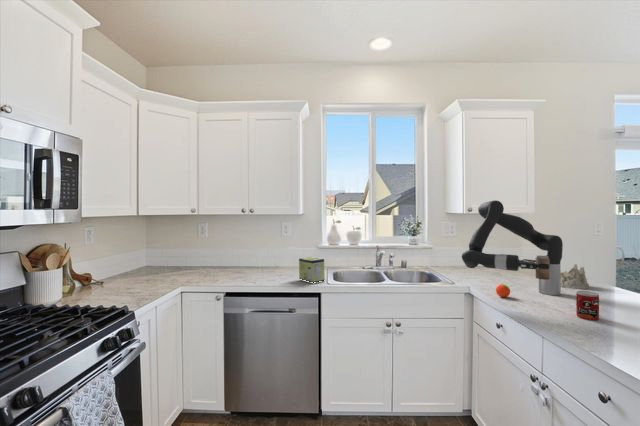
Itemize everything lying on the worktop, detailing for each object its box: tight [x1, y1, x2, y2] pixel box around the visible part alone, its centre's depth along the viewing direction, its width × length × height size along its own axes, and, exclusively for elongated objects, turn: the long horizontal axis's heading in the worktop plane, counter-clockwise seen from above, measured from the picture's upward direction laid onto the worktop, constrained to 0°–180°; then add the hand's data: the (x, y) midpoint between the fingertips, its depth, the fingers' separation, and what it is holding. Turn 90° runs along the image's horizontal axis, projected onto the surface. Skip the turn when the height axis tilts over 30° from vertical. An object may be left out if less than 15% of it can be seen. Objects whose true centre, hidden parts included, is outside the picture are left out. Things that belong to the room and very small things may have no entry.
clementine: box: [495, 283, 511, 298], centre depth 173 cm, size 8×7×7 cm
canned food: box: [575, 290, 600, 321], centre depth 140 cm, size 8×8×11 cm
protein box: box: [298, 256, 326, 283], centre depth 219 cm, size 10×16×16 cm
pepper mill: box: [535, 254, 550, 280], centre depth 145 cm, size 5×5×10 cm
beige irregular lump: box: [561, 263, 590, 290], centre depth 198 cm, size 16×16×15 cm
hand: (549, 265), depth 143 cm, fingers closed on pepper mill, 5 cm apart
